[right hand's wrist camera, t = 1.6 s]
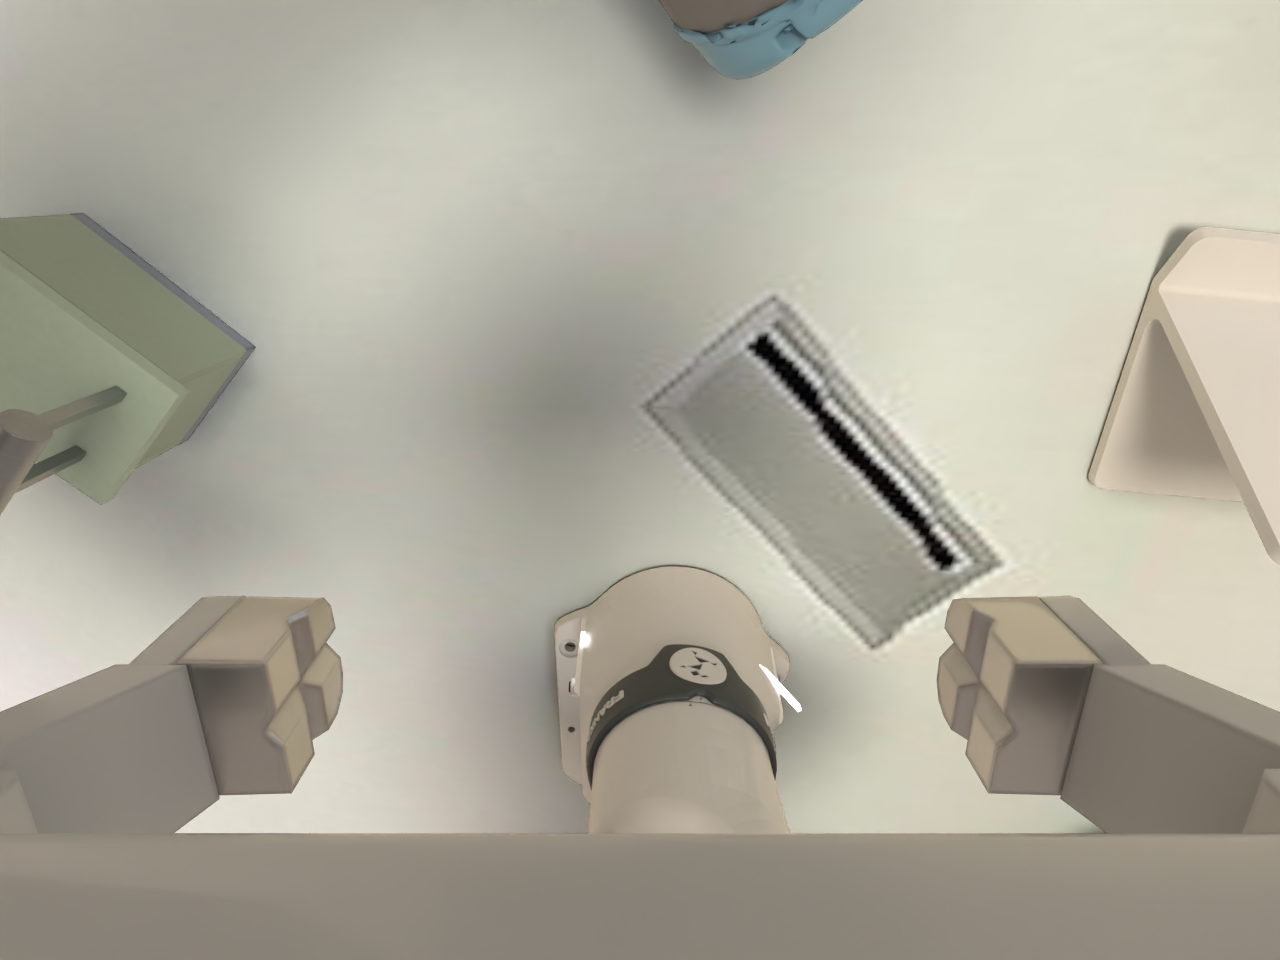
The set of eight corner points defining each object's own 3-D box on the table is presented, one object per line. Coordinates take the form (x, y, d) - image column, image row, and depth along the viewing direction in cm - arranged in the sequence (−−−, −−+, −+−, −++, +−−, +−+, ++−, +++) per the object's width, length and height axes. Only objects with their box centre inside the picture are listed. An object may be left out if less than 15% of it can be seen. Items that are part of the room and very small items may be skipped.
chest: (255, 346, 52) (176, 379, 43) (188, 439, 54) (100, 488, 45) (83, 213, 48) (-40, 219, 40) (19, 317, 51) (-110, 345, 42)
